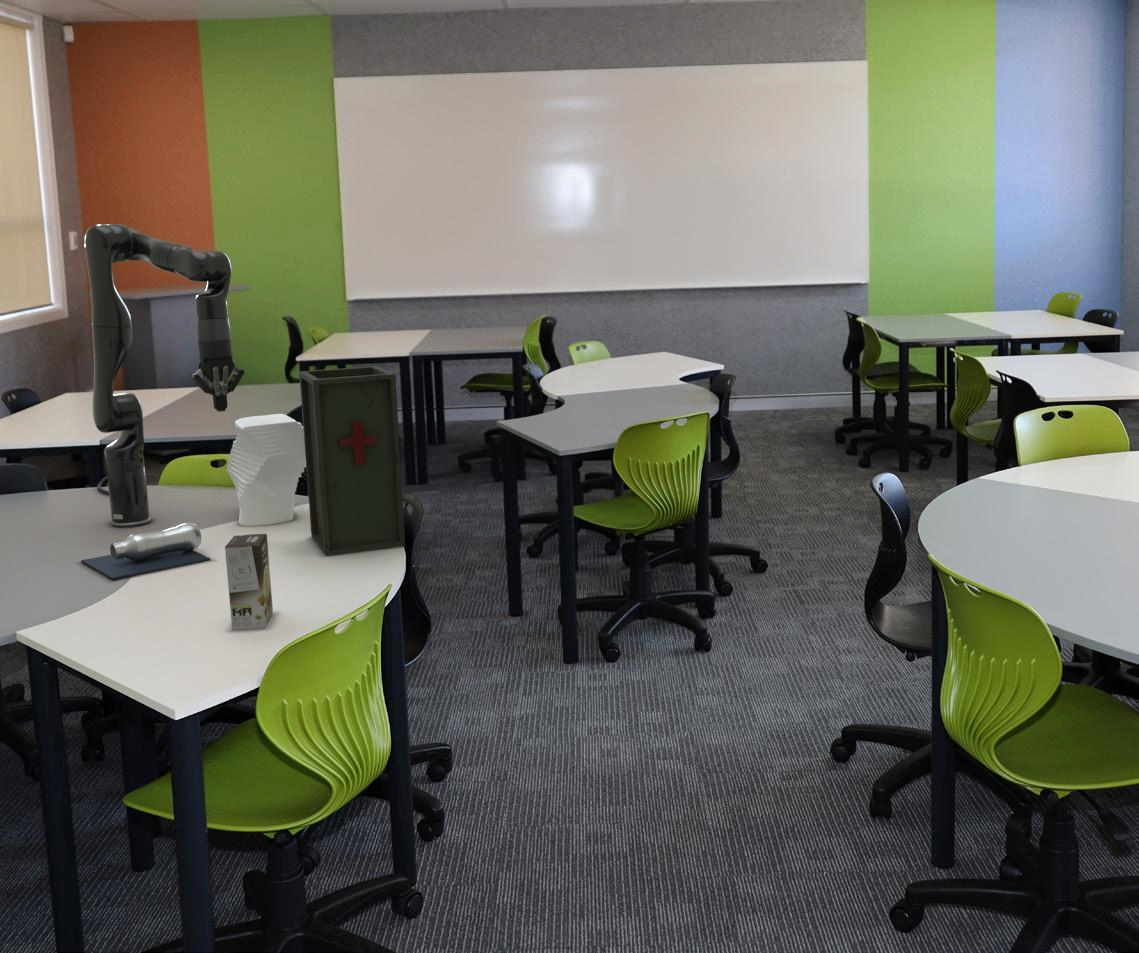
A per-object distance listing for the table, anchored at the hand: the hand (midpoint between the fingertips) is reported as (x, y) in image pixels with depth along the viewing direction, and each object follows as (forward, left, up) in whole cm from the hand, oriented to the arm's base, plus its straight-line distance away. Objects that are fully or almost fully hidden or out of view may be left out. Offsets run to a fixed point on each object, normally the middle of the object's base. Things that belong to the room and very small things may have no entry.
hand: (220, 410), depth 288 cm
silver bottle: (+6, -10, -27) cm, 30 cm away
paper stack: (-14, +18, -31) cm, 39 cm away
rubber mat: (+6, -24, -31) cm, 39 cm away
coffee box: (+64, -25, -31) cm, 75 cm away
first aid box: (+26, +20, -31) cm, 45 cm away
